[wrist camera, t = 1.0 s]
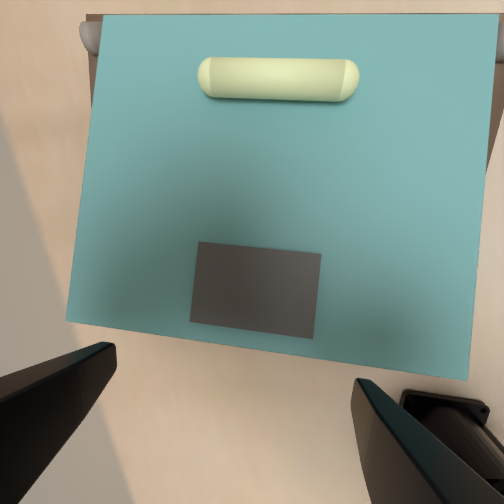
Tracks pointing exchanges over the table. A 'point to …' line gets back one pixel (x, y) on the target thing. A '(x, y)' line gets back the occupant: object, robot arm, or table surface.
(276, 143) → the plate
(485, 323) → the table surface
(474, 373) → the table surface
